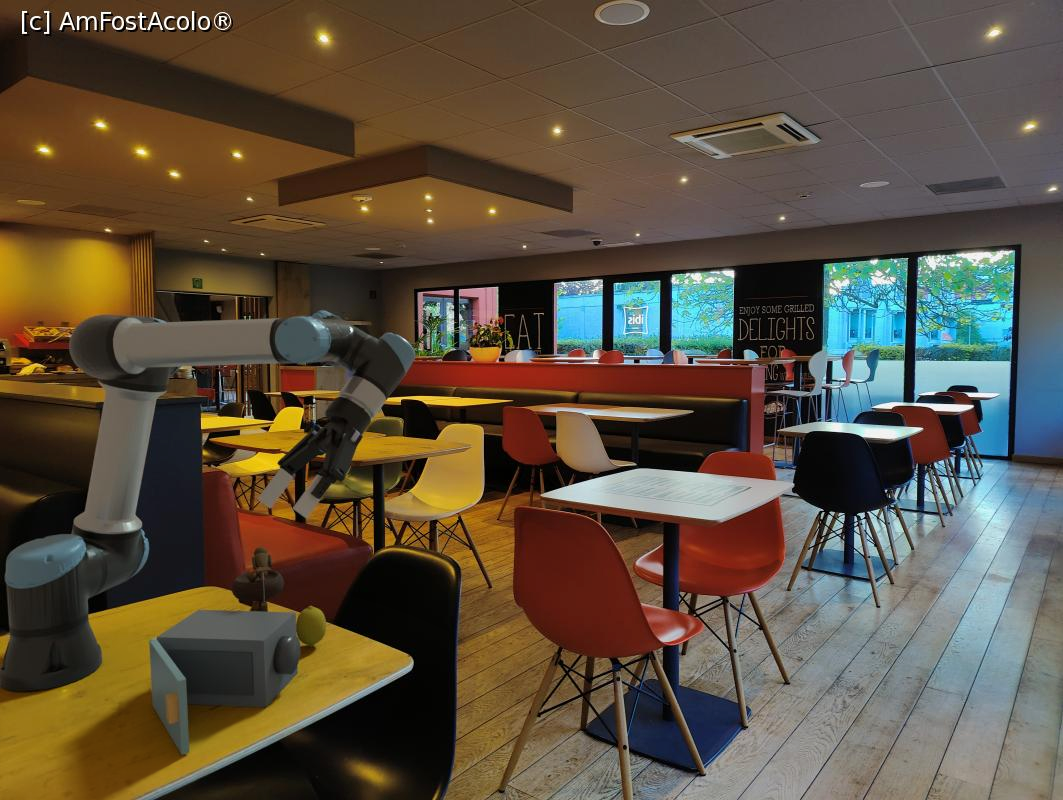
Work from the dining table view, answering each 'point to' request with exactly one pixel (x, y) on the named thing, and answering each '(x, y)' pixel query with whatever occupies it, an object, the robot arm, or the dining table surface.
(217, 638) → the case
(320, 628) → the lemon
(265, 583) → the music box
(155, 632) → the dining table surface
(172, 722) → the side door
